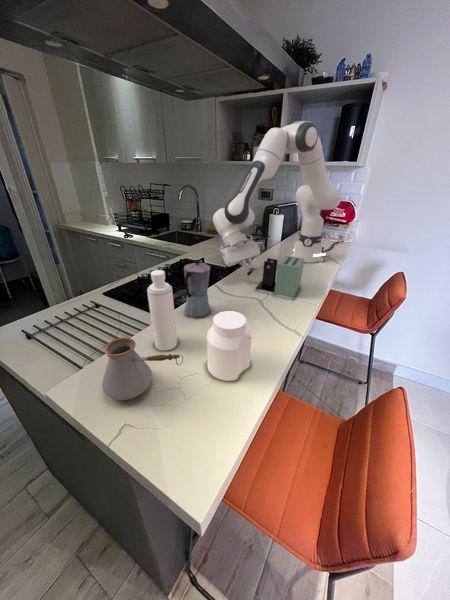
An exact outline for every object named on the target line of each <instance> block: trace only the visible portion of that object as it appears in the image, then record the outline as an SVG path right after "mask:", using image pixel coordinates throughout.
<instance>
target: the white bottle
mask: <svg viewBox="0 0 450 600" xmlns="http://www.w3.org/2000/svg"><path fill="white" fill-rule="evenodd" d="M150 278H151V282H152V283H151V284H150V285H149V286H148V287H147V288H146V293H147V301H148V308H149V313H150V314H149V315H150V319H151V326H152V327H151V328H152V333H153V334H152V335H153V340H154V341H153V342H154V346H155V347H156V349H157V350H159V351H170V350H172V349H175V348H176V347H177V345H178V334H177V323H176V312H175V303H174V293H173V286H172V285H171V284H169V283H168V282H166V281H165V280H166V272H165V270H162V269H156V270H155V269H154V270H153V271H151V272H150Z"/></svg>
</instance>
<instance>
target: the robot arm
mask: <svg viewBox="0 0 450 600" xmlns="http://www.w3.org/2000/svg"><path fill="white" fill-rule="evenodd" d="M285 154H286V155H287V154H288V155H293V154H297V159H298V164H299V170H300V174H301V178H302V180H303V182H305V183H306V184H304V185H301V186H299V187H298V189H297V190H296V193H295V202H296V203H297V204H298V206H299V209H300V212H301V227H300V233H299V236H298V240H297V242H295V244H294V248H293V252H292V253H290V255H289V256H292V257H298V258H304V263H309V264H311V263H312V264H313V263H321V262H324V261H325V260H324V256H326V252H328V251H330V250H331V249H332V248H334V246H335V244H337V243H340V242H341V243H344V240H342V241H340V240H337V241H335V242H333V243H332V245H331V246H330V248H327V249H325V247H324V246H323V245H322V243H321V242H322V238H323V235H322V232H323V229H324V228H323V227H324V218H323V217H322V216H321V214H320V211H319V210H321V211H330V210H335V209H336V208H337V207H338V206H339V205H340V203H341V201H342V193H341V191H340V189H338V188H337V187H336V186H335V185H334V184H333V182H332V181H331V178H330V177H329V175H328V172H327V168H326V163H325V162H326V161H325V155H324V149H323V145H322V141H321V138H320V135H319V132H318V127H317V126H316V125H315V123H313V122H309V121H304V122H293V123H290V124H286V125H282V126H278V127H272V128H270V129H269V130H268V131H267V132H266V133H265V135H264V136H263V138H262V140H261V142H260V144H259V146H258V147H257V150H256V152H255V155H254V157H253V159H252V161H251V164H250V165H249V167H248V168H247V169H246V172H245V173H244V176H243V178H242V180H241V182H240V183H239V185H238V187H237V189H236V191H235V193H234V194H233V196H231V198H230V199H229V200H228V201H227V202H226V203H225V206H224V207H221V208H219V209H217V210H216V211H215V212H214V214H213V216H212V223H213V225H214V228H215V230H216V232H217V233H218V236H220V237H221V240H222V242H223V244H224V245H222V246H220V248H219V252H220V254H221V257H222V259H223V262H224V264H225V266H226V267H229V268H230V267H233V266H235V265H238V264H240V265H241V266H242V267H243V268H245V270H246V271H248V272H249V271H250V270H251V269H254V266H253V260H252V259H256V258H257V257H259V256H261V250H260V247H259V246H258V244H257V243H256V241H255V240H254V237H253V236H252V235H250V234H245V233H242V232H241V231H243V230H245V229H247V228H249V227H251V226H252V225H253V224H254V221H255V218H256V216H255V212H254V210H253V209H252V208H251V206H250V201H251V200H252V199H251V198H252V197H253V195H254V193H255V191H256V189H257V187H258V185H259V183H260V182H261V181H266V180H270V179H271V178H273V177H274V176H275V174H276V172H277V171H278V169H279V167H280V164H281V162H282V160H283V157H284V155H285ZM324 249H325V250H324ZM324 252H325V253H324Z"/></svg>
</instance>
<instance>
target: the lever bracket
mask: <svg viewBox="0 0 450 600" xmlns="http://www.w3.org/2000/svg"><path fill="white" fill-rule="evenodd" d="M270 261H274V262H270ZM278 261H279V260H278V259H275V258H269V257H268V258H266V260H264V261H263V266H264V269H262V270H263V271H262V280H261V282H259V284H258V285H257V286H256V287H255V289H256V290H260V291H264V292H269V293H273V294H275V285H276V277H277V269H278V263H279V262H278Z"/></svg>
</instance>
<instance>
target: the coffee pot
mask: <svg viewBox="0 0 450 600" xmlns="http://www.w3.org/2000/svg"><path fill="white" fill-rule="evenodd" d="M136 346H137V345H136V341H135V340H134V338H131V337H119V338H114V339H112V340H111V341H110V342H108V343H107V344H106V345H105V346H104V347H105V348H104V353H105V354H106V356H107V357H108V360H107V364H106V368H105V371H104V374H103V379H102V382H101V388H102V391H103V392H104V394H105V395H106V396H108V397H109V398H111V399H112V400H115V401H116V400H117V401H128V400H132V399H134V398H137V397H138V396H140V395H141V394H143V393H145V391H146V390H147V389H148V388H149V386H150V384H151V383H152V379H153V371H152V369H151V367H150V366H149V365H148V364H147V362H146V361H148V362H162V361H167V360H169V361H172V360H175V364H176V365H177V366H181V365H182V364H183V363H184V356H183V355H182V354H172V353H169V354H156V355H151V356H140V354H138V352H136V350H135V348H136ZM180 357H181V359H182V360H181V363H178V359H180Z"/></svg>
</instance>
